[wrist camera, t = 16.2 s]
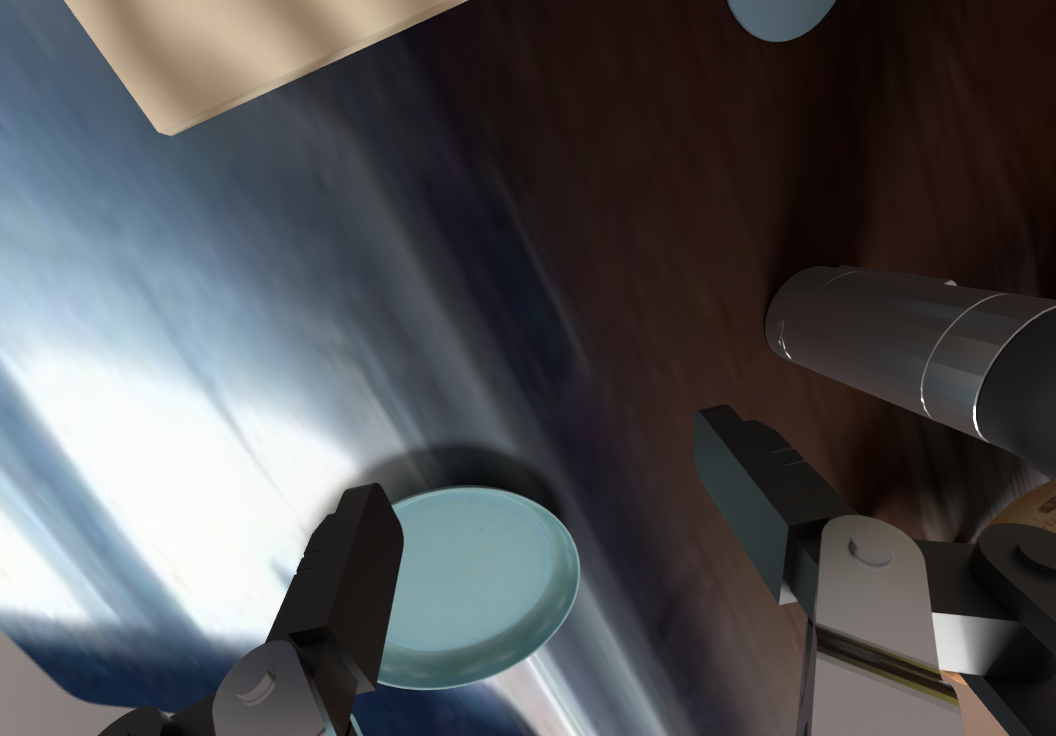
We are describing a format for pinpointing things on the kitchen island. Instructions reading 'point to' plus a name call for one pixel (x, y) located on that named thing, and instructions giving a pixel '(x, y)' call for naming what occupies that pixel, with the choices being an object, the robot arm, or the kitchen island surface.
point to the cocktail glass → (779, 17)
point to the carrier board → (232, 46)
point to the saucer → (475, 586)
